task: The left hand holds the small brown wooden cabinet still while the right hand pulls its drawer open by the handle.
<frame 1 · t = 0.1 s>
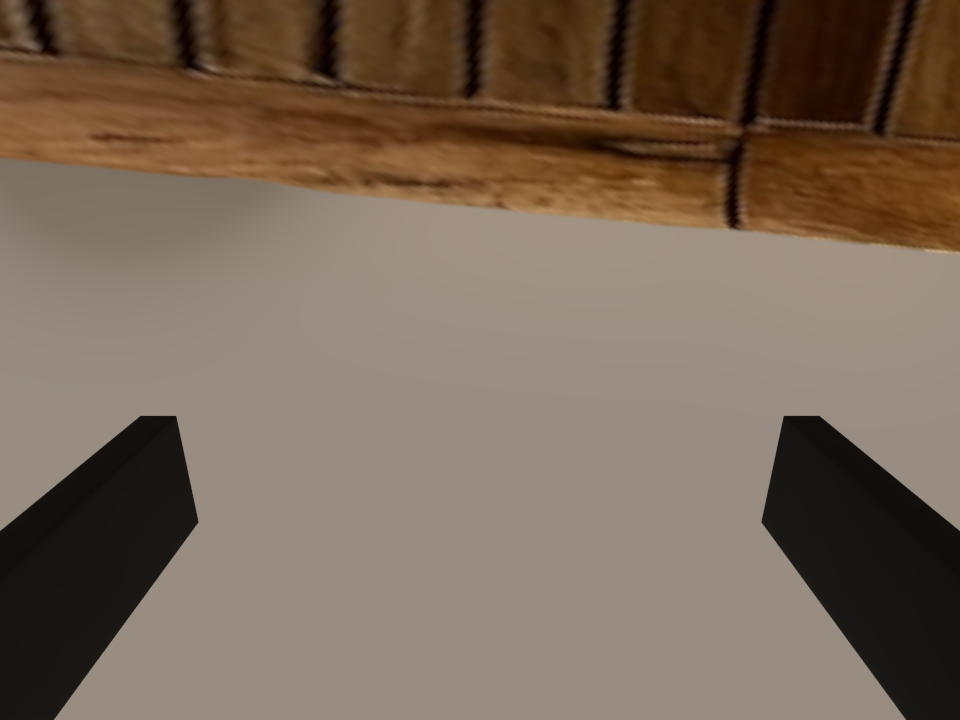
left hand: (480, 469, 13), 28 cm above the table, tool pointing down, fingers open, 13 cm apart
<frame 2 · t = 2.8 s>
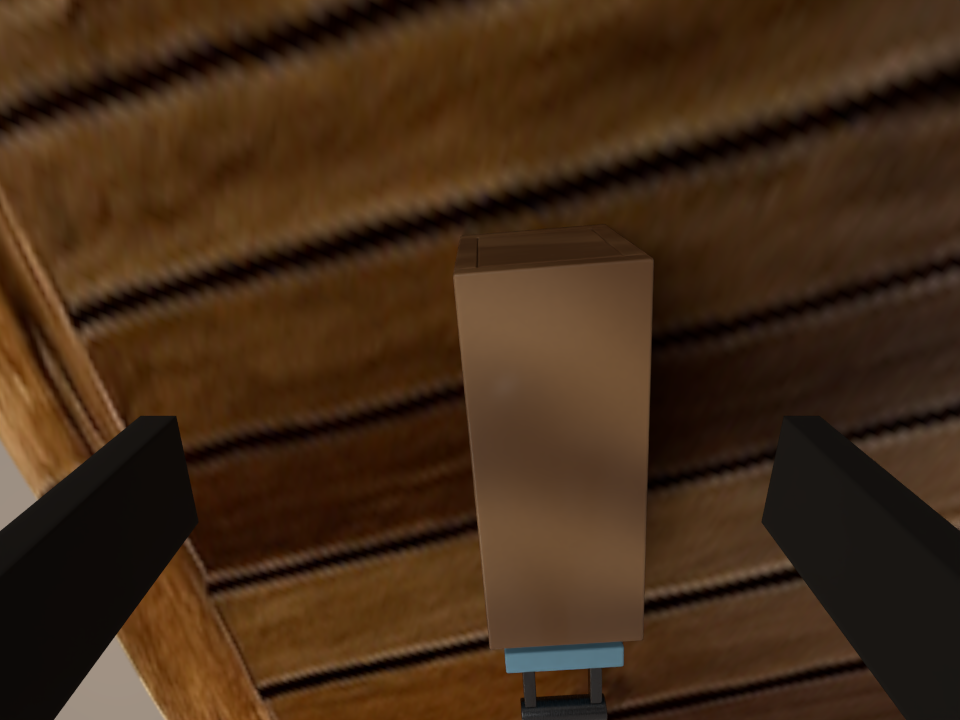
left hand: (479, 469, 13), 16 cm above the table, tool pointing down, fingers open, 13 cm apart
drawer: (553, 536, 28), point 4 cm above the table, slide at 1.3 cm
cabinet: (540, 394, 29), on the table
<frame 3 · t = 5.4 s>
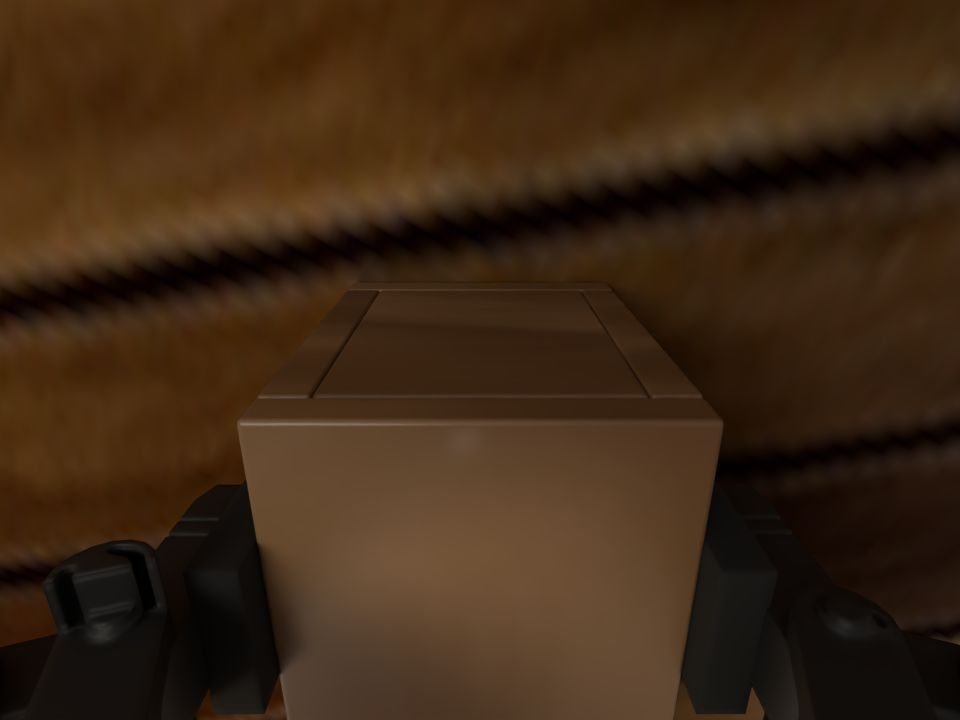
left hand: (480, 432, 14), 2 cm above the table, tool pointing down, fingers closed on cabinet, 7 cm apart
cabinet: (480, 540, 18), on the table, touching left hand
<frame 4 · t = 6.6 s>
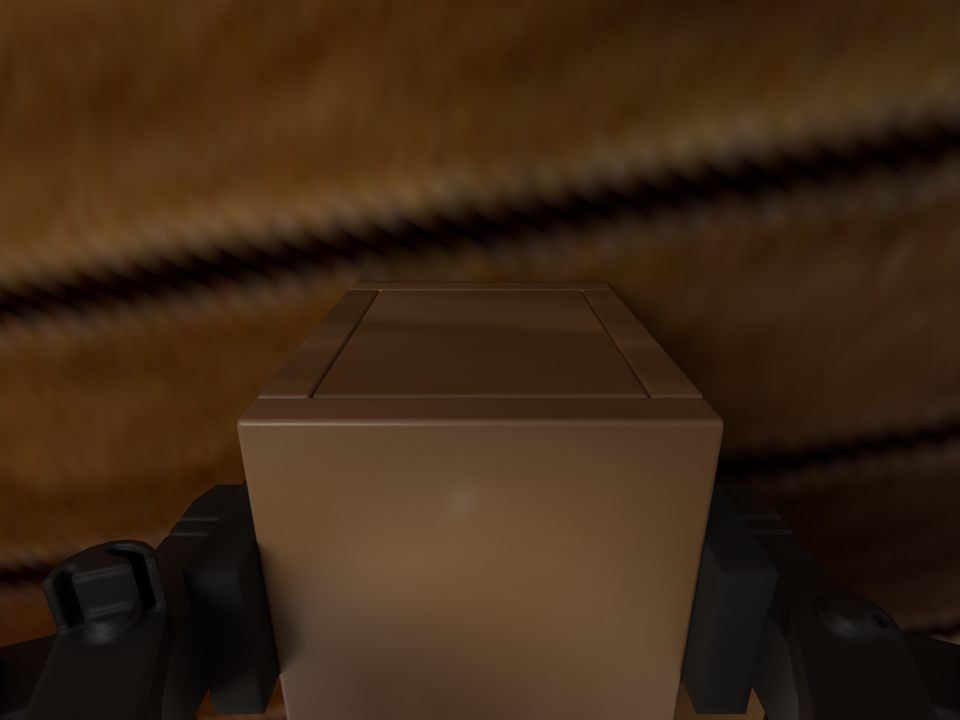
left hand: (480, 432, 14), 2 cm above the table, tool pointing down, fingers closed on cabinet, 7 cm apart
cabinet: (480, 540, 18), on the table, touching left hand
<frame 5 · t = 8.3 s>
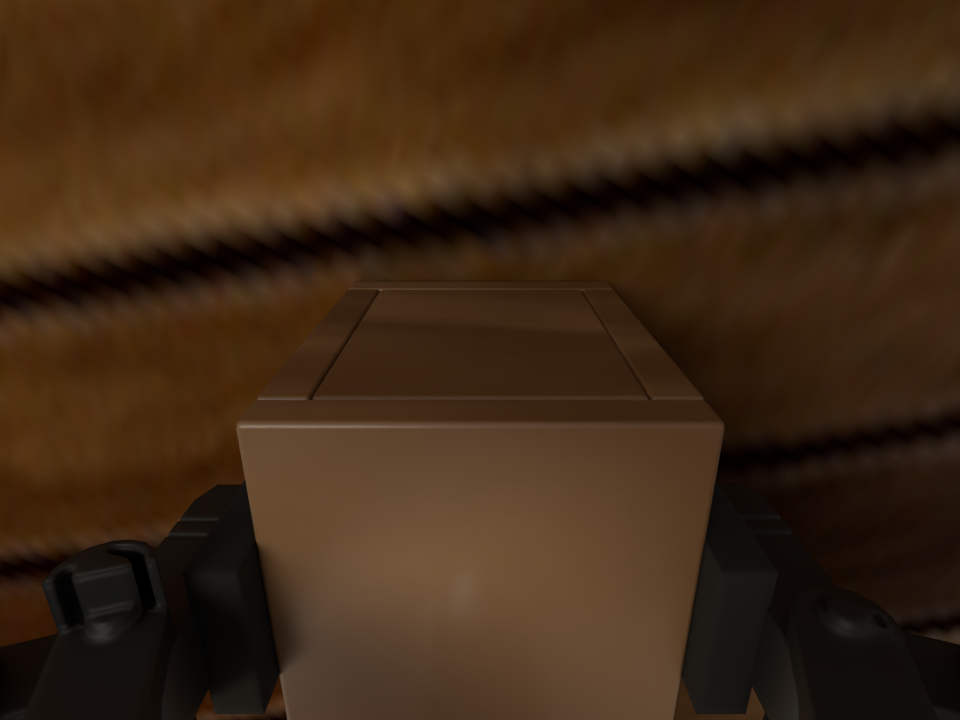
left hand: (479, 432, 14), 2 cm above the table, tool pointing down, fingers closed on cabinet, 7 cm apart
cabinet: (480, 539, 18), on the table, touching left hand
when the left hand's fingers open (2 cm above the table, at t = 9.7 s): cabinet stays where it is, on the table.
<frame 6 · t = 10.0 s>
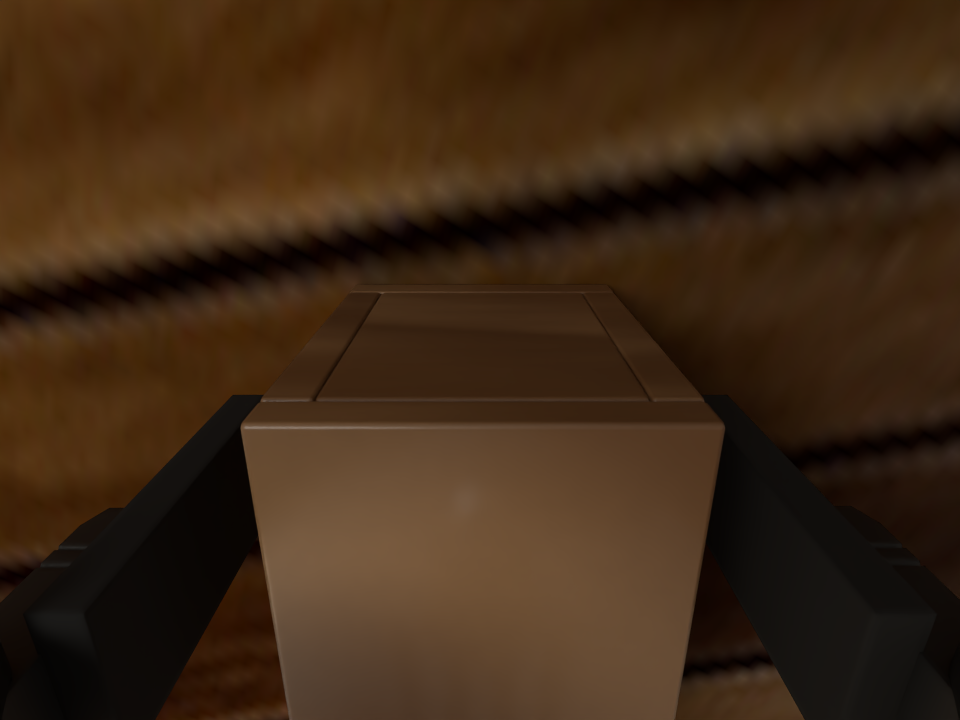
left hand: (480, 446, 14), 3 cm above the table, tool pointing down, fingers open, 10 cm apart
cabinet: (481, 542, 18), on the table
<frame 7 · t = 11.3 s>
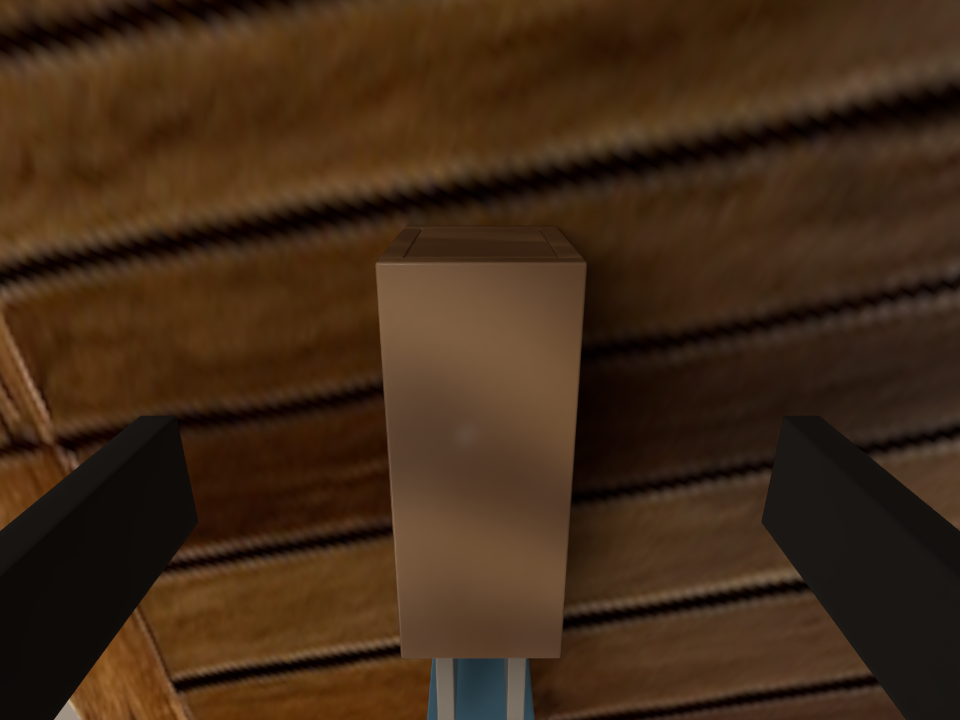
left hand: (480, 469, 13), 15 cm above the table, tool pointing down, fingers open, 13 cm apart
drawer: (480, 640, 29), point 4 cm above the table, slide at 7.1 cm
cabinet: (480, 397, 28), on the table
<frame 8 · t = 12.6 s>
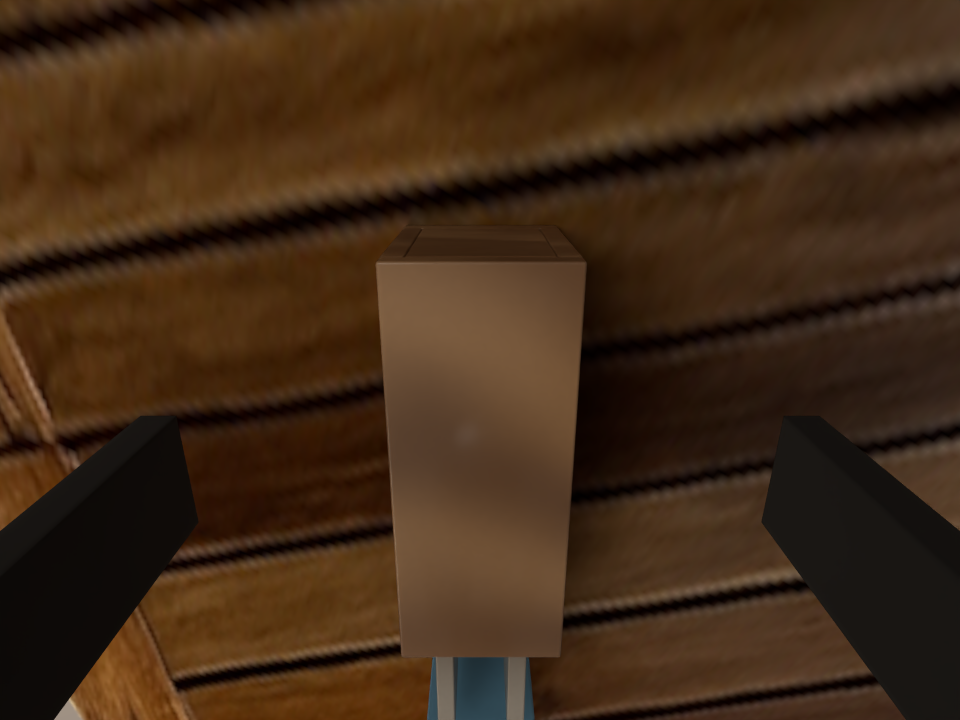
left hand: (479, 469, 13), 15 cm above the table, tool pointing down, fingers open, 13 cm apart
drawer: (480, 640, 29), point 4 cm above the table, slide at 7.1 cm
cabinet: (480, 396, 28), on the table
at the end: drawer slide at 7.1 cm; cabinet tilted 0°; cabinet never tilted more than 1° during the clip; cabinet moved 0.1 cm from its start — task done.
